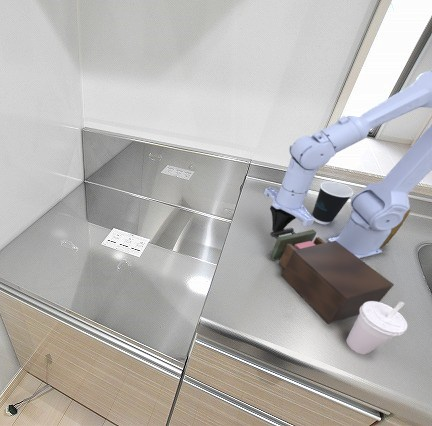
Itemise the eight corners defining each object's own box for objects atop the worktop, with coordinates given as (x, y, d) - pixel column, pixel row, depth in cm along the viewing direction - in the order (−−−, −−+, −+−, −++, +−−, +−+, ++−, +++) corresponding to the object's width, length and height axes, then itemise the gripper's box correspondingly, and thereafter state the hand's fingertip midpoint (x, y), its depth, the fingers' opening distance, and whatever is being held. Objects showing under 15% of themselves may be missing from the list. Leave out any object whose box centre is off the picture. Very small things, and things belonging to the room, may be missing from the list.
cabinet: (281, 275, 71) (293, 250, 66) (320, 265, 73) (335, 240, 68) (327, 324, 60) (346, 298, 55) (372, 310, 63) (394, 284, 58)
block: (303, 255, 74) (310, 240, 71) (317, 268, 70) (326, 253, 67) (288, 259, 73) (295, 244, 70) (301, 272, 69) (309, 257, 66)
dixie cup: (338, 217, 89) (355, 186, 82) (334, 231, 84) (352, 199, 77) (308, 208, 93) (323, 178, 86) (303, 221, 88) (318, 190, 81)
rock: (396, 250, 74) (419, 233, 77) (385, 219, 73) (409, 203, 76) (350, 247, 84) (372, 232, 87) (340, 220, 84) (363, 206, 86)
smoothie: (364, 367, 53) (408, 323, 45) (330, 337, 58) (365, 292, 50) (386, 353, 55) (432, 308, 47) (352, 325, 60) (389, 280, 52)
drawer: (258, 246, 78) (265, 226, 74) (291, 239, 80) (300, 219, 76) (307, 295, 65) (319, 275, 61) (344, 285, 67) (359, 264, 63)
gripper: (260, 175, 75) (247, 217, 83) (304, 206, 63) (283, 252, 71) (283, 171, 76) (268, 213, 84) (330, 201, 65) (307, 246, 73)
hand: (276, 230), depth 78 cm, fingers closed
